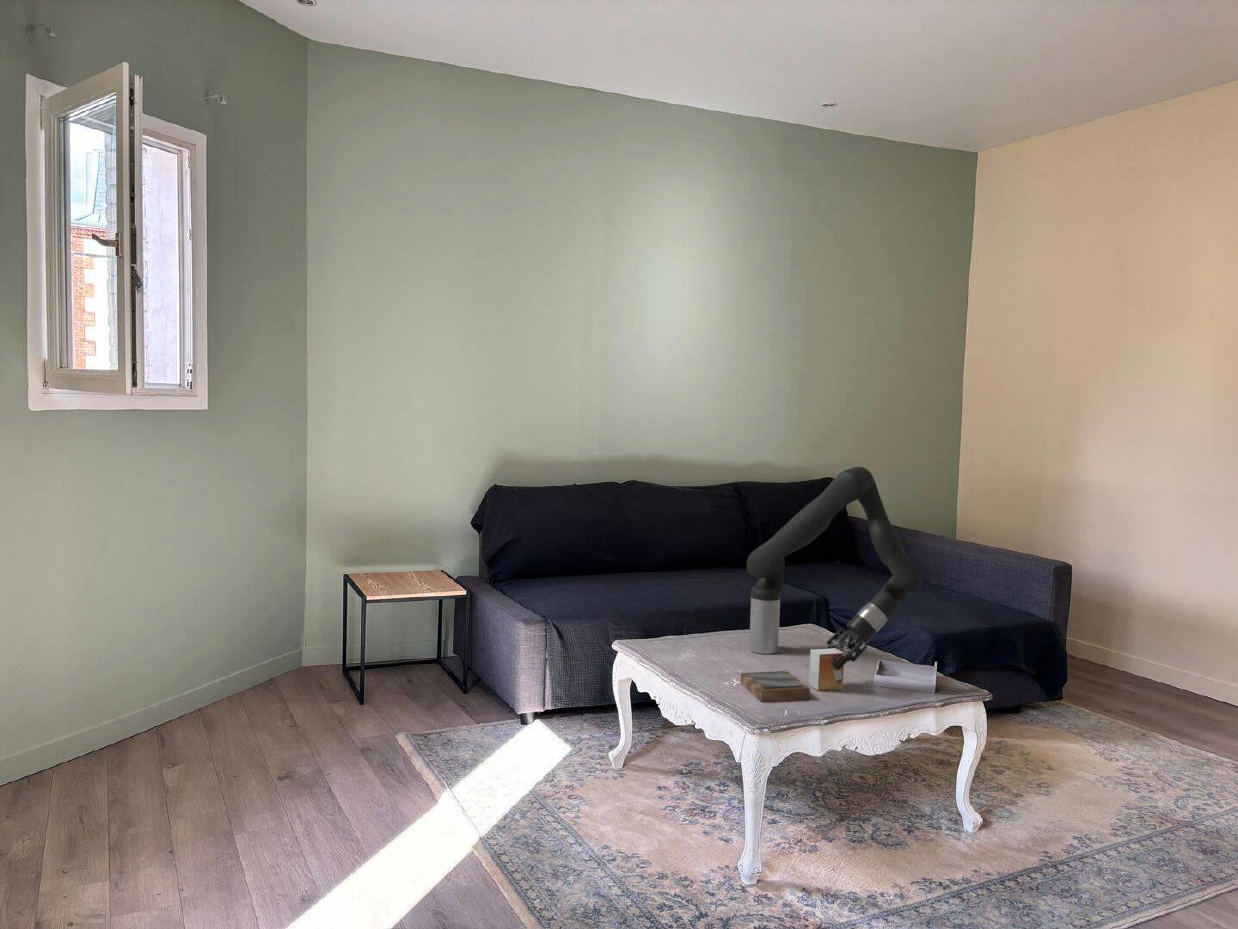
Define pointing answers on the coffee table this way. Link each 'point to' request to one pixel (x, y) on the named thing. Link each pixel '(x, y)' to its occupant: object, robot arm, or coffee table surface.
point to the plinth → (774, 686)
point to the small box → (825, 669)
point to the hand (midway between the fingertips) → (828, 663)
